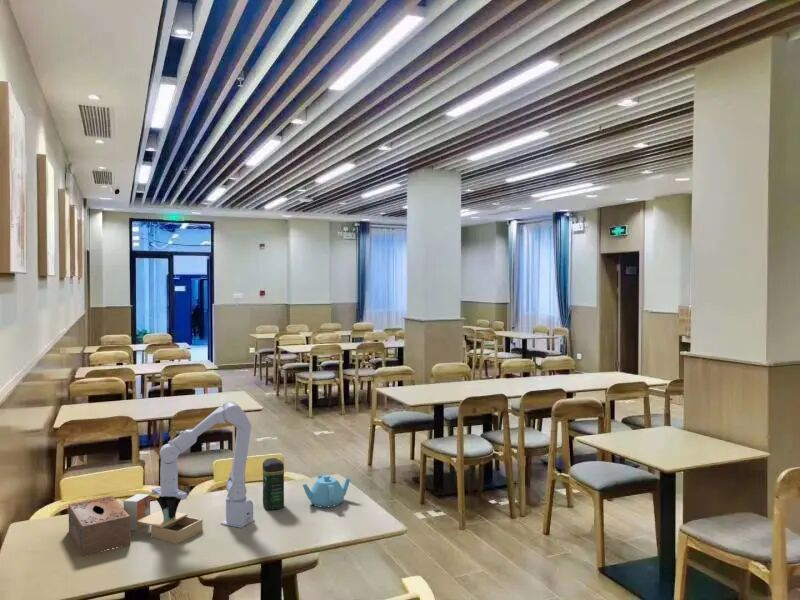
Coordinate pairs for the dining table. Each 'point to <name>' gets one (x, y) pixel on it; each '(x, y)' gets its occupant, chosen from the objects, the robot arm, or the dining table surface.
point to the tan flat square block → (160, 518)
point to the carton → (178, 530)
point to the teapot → (326, 491)
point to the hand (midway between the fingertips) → (169, 516)
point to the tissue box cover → (99, 525)
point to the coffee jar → (273, 483)
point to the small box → (137, 509)
